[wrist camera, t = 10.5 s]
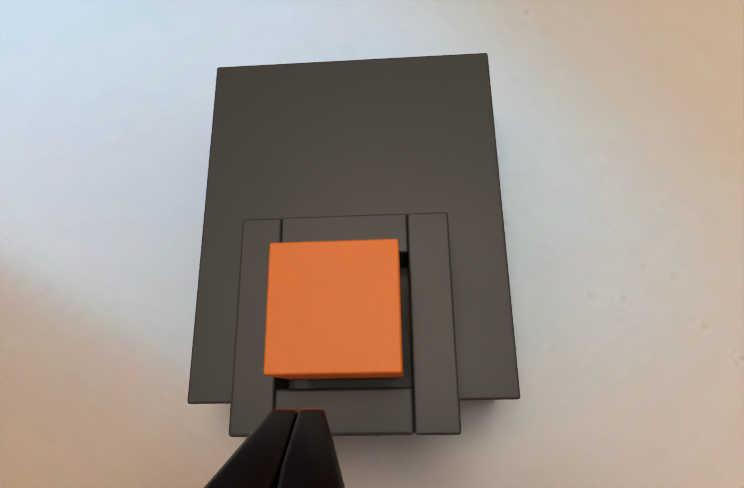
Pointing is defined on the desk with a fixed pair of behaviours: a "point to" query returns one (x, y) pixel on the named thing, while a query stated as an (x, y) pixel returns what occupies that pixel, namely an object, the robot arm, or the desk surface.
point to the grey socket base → (358, 233)
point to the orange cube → (334, 310)
